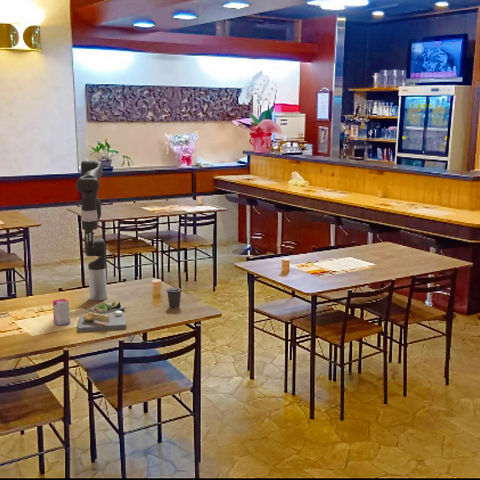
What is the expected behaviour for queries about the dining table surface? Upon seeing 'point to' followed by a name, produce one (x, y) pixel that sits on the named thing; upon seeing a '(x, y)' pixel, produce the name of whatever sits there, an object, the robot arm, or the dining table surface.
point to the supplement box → (61, 312)
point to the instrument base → (103, 323)
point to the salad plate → (107, 308)
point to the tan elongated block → (96, 317)
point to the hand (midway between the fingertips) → (91, 254)
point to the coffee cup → (174, 297)
